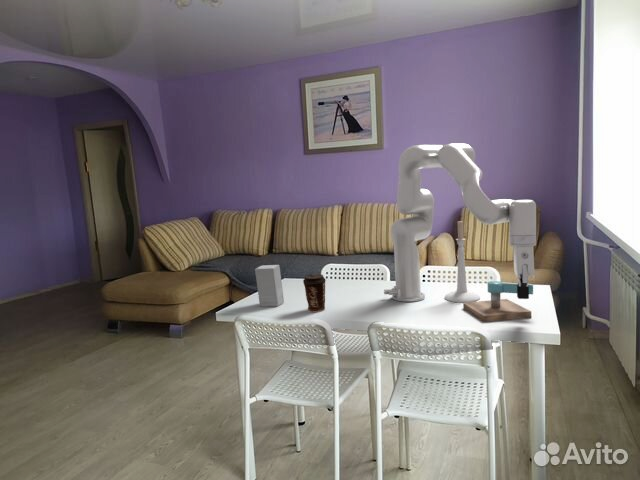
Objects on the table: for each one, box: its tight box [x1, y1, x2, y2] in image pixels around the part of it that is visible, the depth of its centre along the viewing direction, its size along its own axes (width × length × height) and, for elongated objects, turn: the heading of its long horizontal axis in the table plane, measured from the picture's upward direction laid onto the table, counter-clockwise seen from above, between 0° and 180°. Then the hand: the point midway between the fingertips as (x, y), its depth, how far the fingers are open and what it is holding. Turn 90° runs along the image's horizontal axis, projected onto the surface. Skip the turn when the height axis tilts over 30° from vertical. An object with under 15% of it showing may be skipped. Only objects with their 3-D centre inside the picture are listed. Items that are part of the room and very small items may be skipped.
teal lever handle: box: [487, 280, 534, 295], centre depth 153 cm, size 14×5×3 cm, turn 60°
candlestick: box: [444, 220, 481, 304], centre depth 175 cm, size 13×13×30 cm
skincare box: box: [254, 264, 285, 307], centre depth 184 cm, size 8×7×16 cm
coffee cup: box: [302, 273, 327, 313], centre depth 172 cm, size 9×8×13 cm
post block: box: [462, 293, 532, 323], centre depth 156 cm, size 16×16×7 cm
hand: (522, 298), depth 144 cm, fingers closed
